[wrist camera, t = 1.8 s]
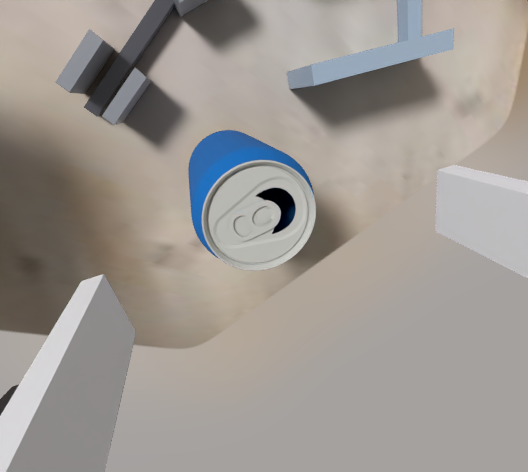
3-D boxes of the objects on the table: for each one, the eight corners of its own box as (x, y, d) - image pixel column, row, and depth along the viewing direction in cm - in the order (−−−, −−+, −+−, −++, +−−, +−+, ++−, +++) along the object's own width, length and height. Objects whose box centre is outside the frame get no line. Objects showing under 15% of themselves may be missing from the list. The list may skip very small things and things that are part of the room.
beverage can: (276, 188, 27) (338, 245, 16) (210, 219, 26) (227, 298, 16) (248, 115, 24) (301, 125, 13) (173, 149, 24) (164, 188, 13)
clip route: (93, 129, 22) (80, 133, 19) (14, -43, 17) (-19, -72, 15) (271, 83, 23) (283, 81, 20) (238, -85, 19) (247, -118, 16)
